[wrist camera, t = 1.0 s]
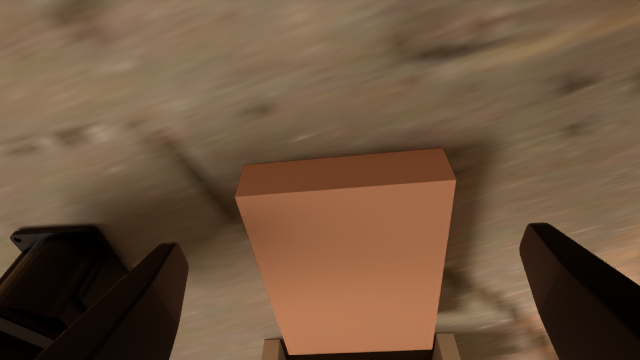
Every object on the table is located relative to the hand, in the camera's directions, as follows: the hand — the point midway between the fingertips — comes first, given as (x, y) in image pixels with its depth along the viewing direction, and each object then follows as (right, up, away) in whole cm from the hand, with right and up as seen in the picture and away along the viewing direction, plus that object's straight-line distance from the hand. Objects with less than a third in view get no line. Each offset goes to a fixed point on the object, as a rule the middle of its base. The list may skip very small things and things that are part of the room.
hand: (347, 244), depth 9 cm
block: (+2, -4, +19) cm, 19 cm away
